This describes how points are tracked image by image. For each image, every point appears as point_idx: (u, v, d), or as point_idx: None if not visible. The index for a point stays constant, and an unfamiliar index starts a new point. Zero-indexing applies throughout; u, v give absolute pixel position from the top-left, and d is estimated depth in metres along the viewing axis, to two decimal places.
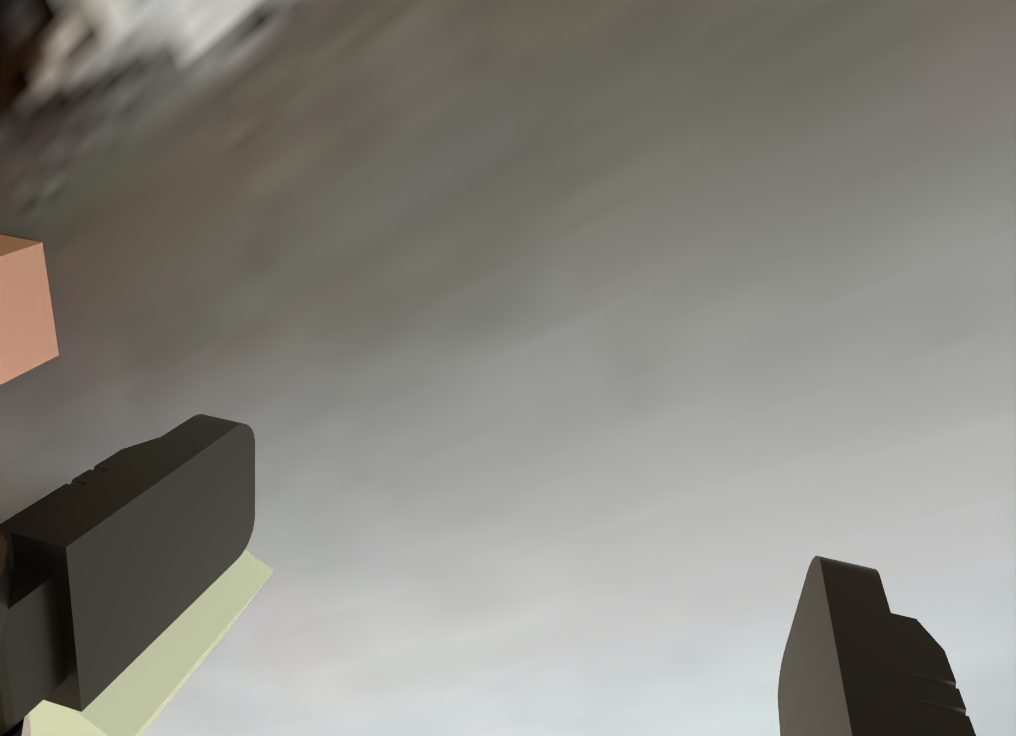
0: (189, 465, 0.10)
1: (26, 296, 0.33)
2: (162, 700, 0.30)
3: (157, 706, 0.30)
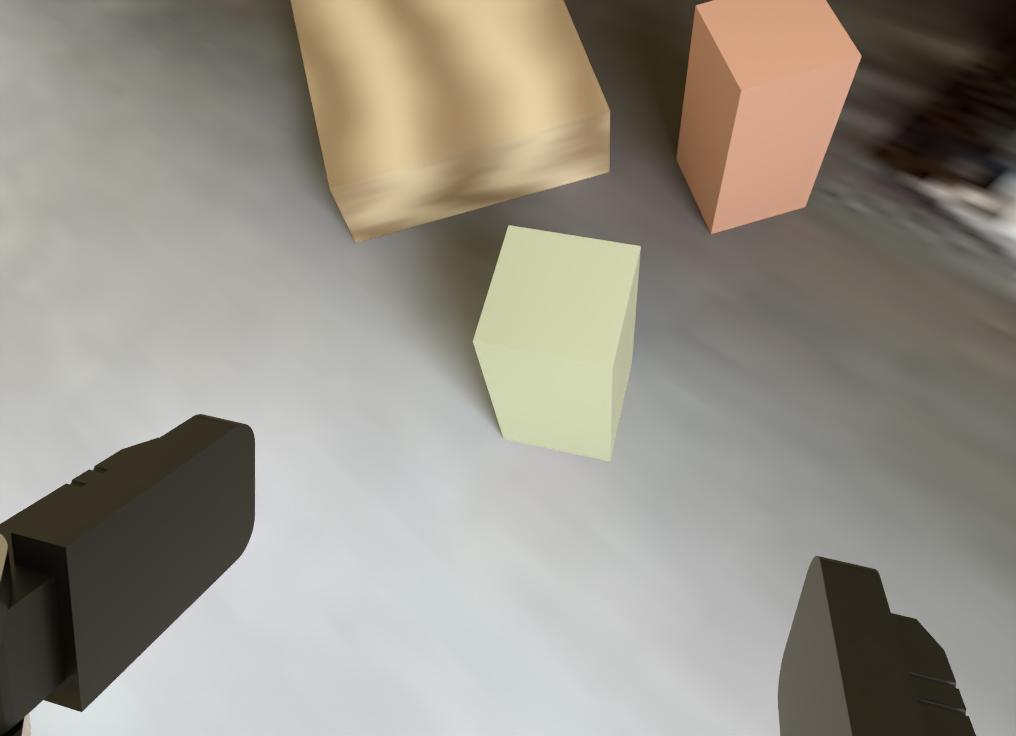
0: (189, 465, 0.10)
1: (773, 202, 0.40)
2: (612, 391, 0.30)
3: (612, 387, 0.30)
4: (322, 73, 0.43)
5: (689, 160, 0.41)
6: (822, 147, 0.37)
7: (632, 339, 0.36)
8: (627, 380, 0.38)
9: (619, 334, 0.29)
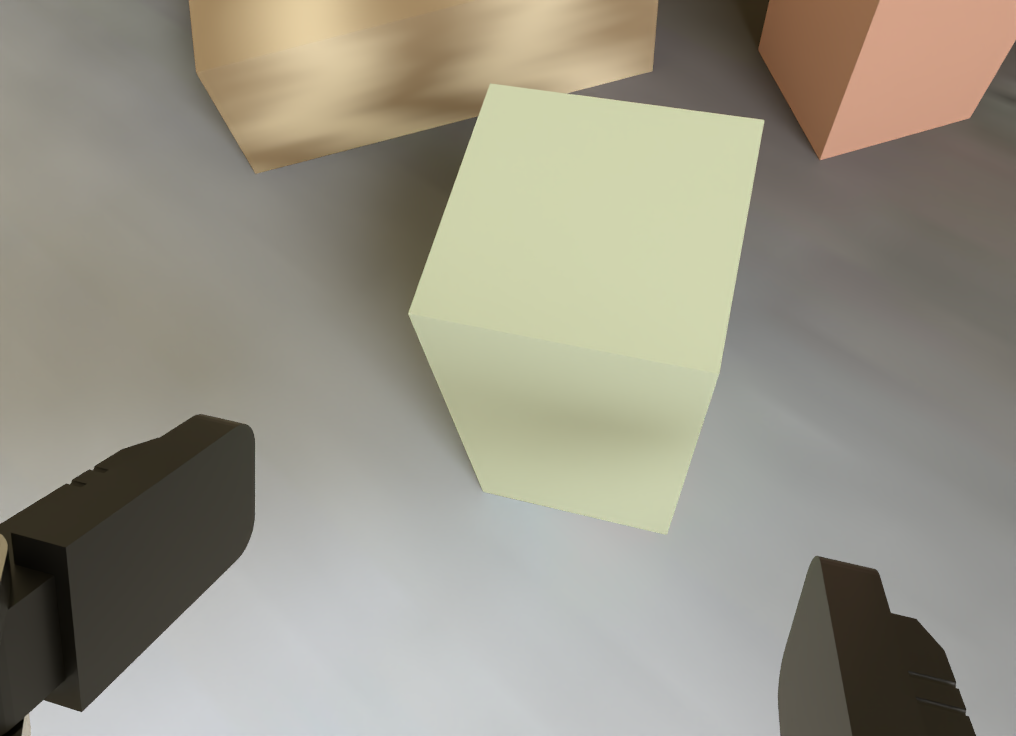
0: (189, 465, 0.10)
1: (926, 107, 0.25)
2: (703, 421, 0.14)
3: (705, 415, 0.14)
4: None
5: (786, 41, 0.26)
6: None
7: None
8: None
9: (730, 299, 0.13)
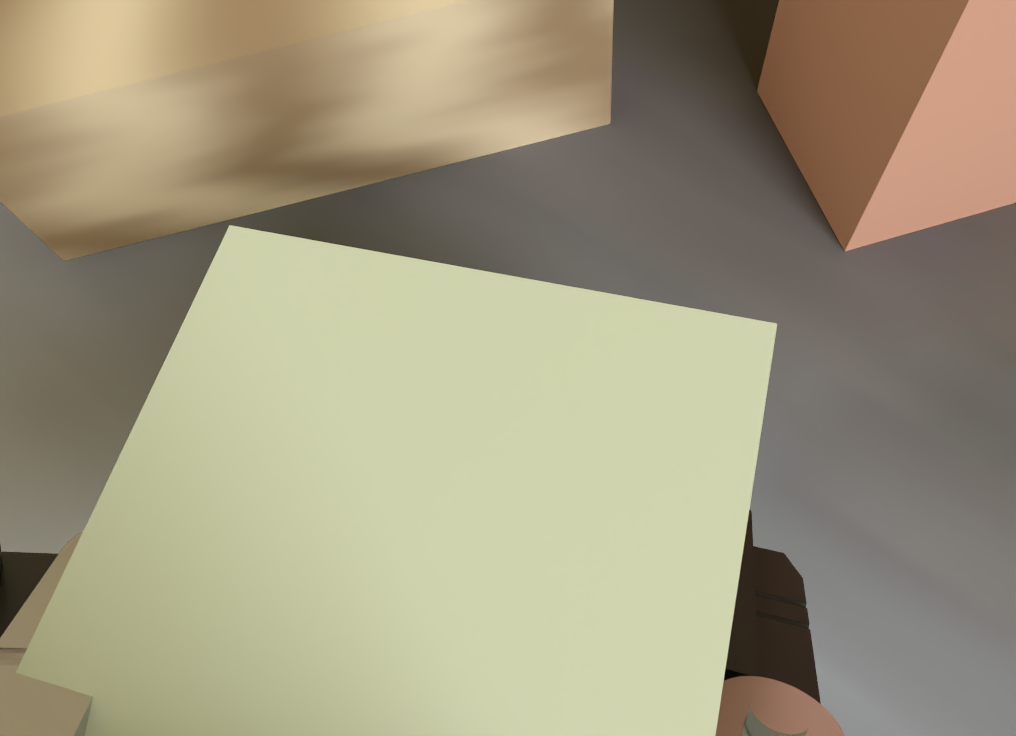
0: None
1: (998, 180, 0.17)
2: None
3: None
4: None
5: (796, 84, 0.18)
6: None
7: None
8: None
9: None
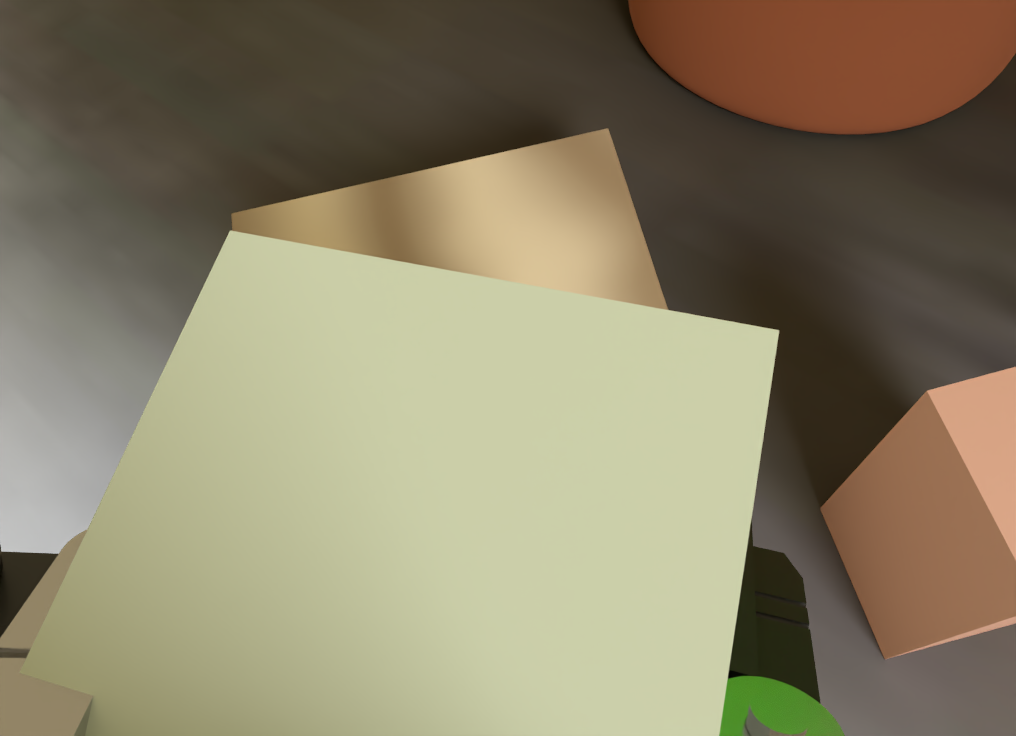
0: None
1: (995, 628, 0.25)
2: None
3: None
4: None
5: (853, 539, 0.26)
6: None
7: None
8: None
9: None
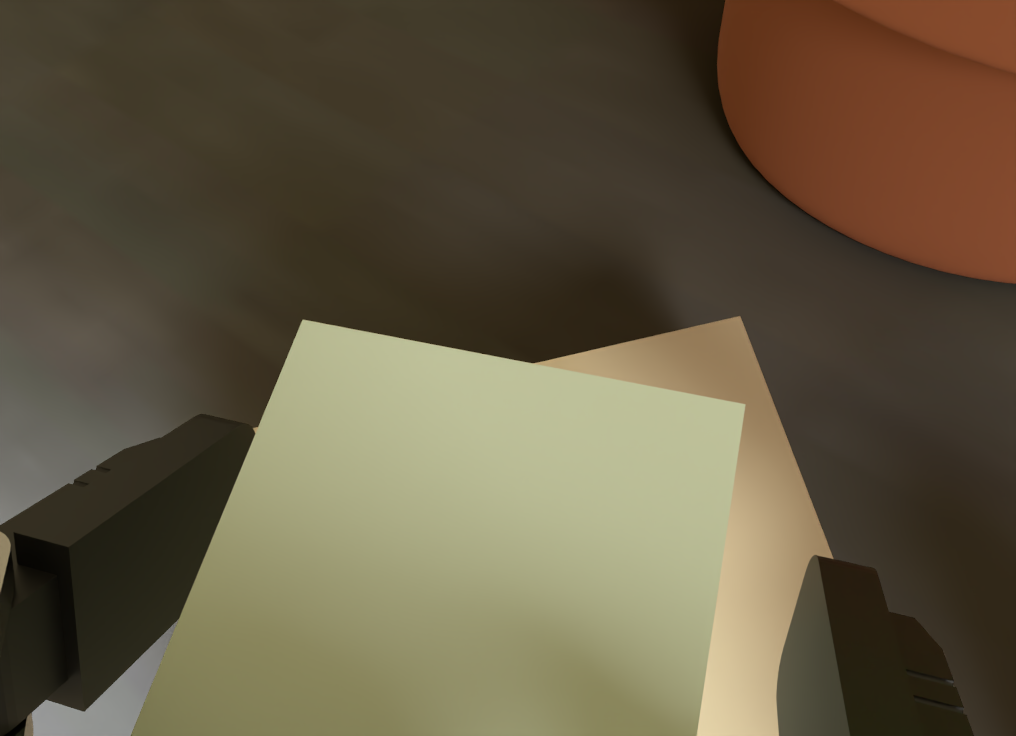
0: (191, 465, 0.10)
1: None
2: None
3: None
4: None
5: None
6: None
7: None
8: None
9: None
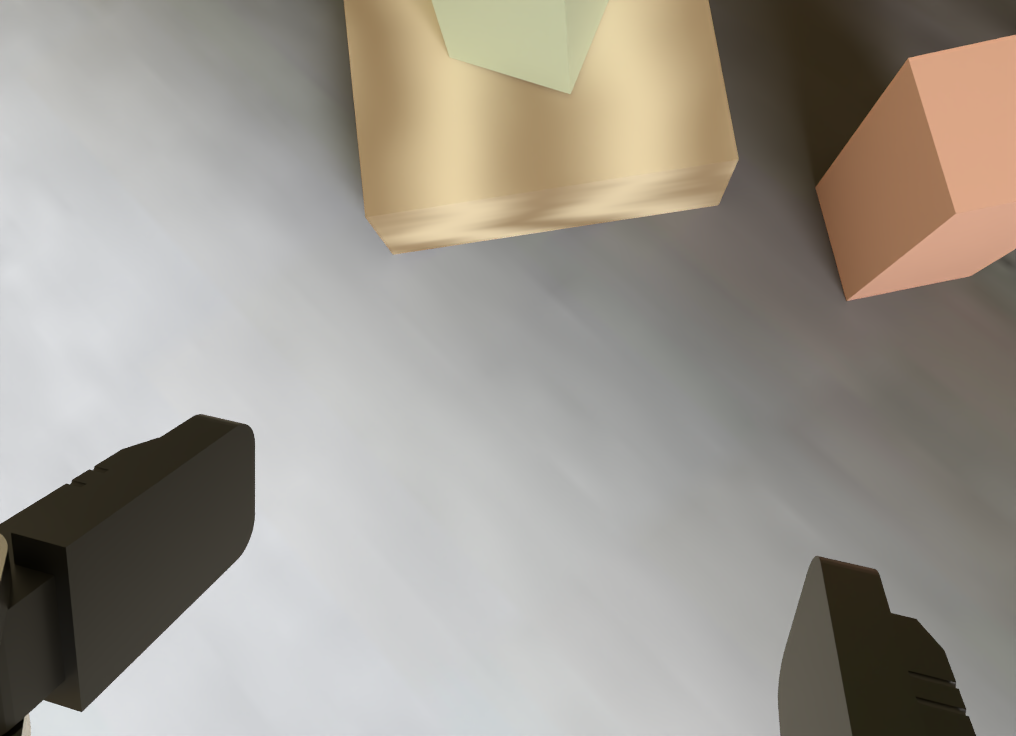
0: (189, 465, 0.10)
1: (935, 277, 0.32)
2: None
3: None
4: (367, 34, 0.32)
5: (837, 206, 0.32)
6: None
7: None
8: None
9: None
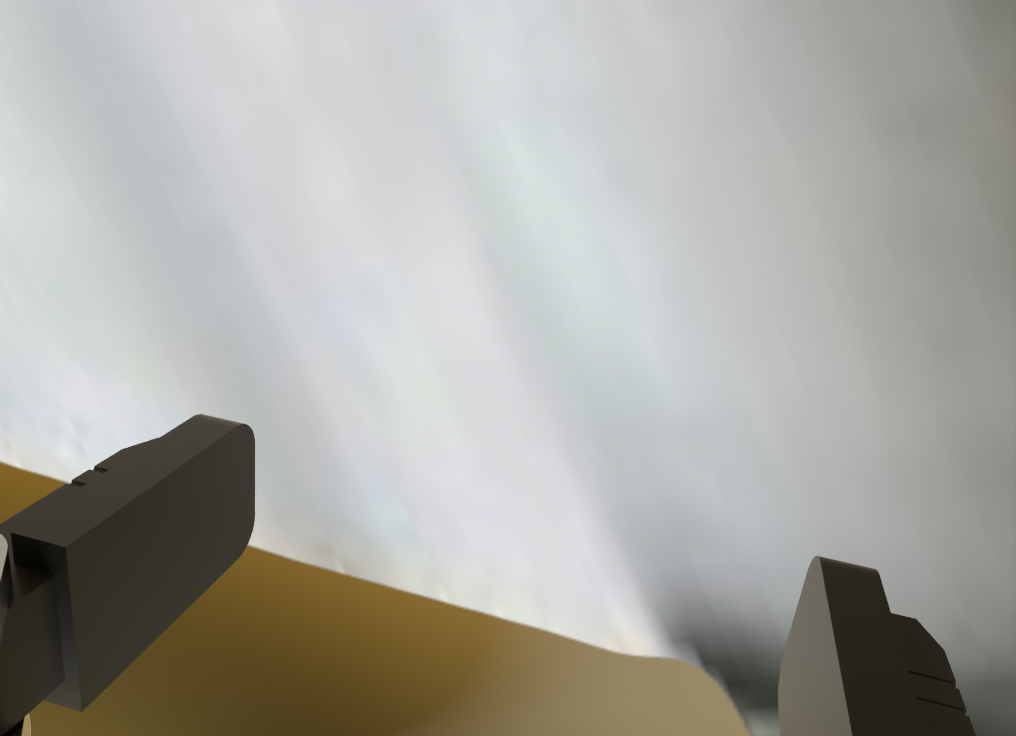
0: (189, 465, 0.10)
1: None
2: None
3: None
4: None
5: None
6: None
7: None
8: None
9: None
